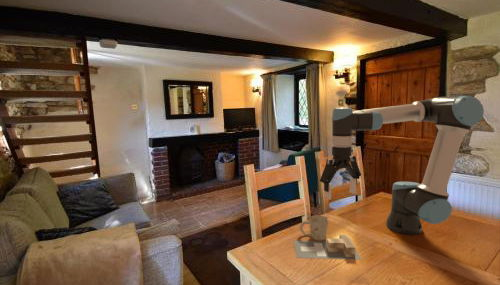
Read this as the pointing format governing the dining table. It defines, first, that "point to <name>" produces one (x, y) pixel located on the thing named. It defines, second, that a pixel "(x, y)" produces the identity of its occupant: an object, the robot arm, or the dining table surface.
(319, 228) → the mug
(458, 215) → the dining table surface
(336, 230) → the dining table surface
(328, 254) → the board
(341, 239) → the t block
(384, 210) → the dining table surface
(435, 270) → the dining table surface
